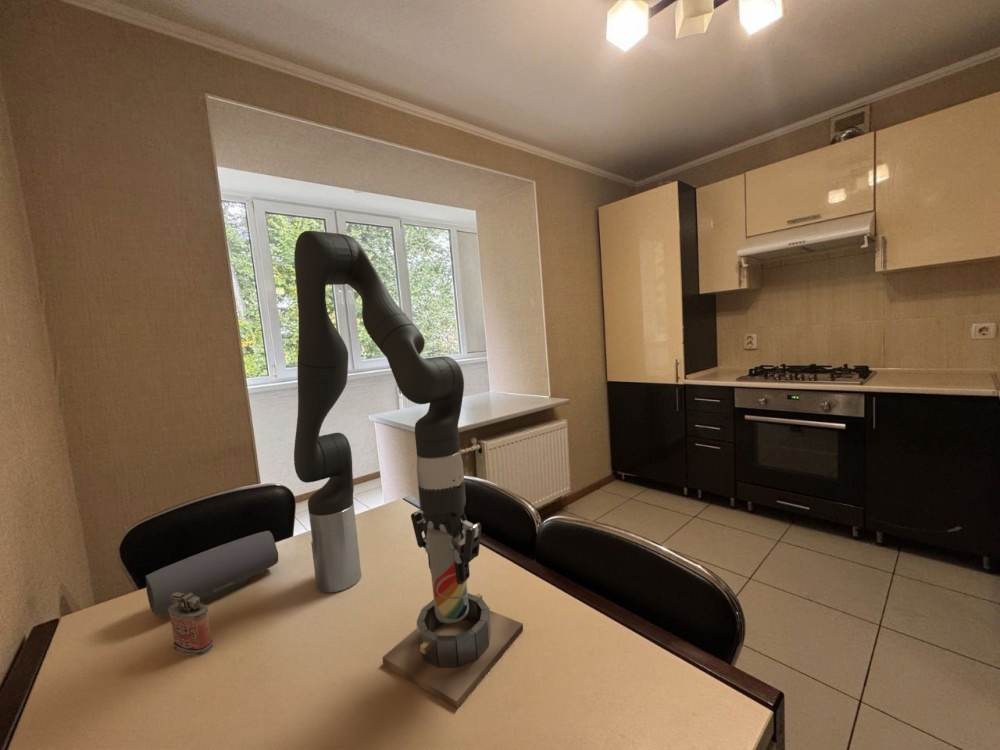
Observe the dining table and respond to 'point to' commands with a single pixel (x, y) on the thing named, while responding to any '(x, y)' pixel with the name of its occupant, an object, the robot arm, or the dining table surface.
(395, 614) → the dining table surface
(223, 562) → the bluetooth speaker
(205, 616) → the lighter
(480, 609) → the ring
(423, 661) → the base plate
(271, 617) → the dining table surface
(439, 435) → the robot arm
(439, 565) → the lotion bottle
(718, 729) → the dining table surface
